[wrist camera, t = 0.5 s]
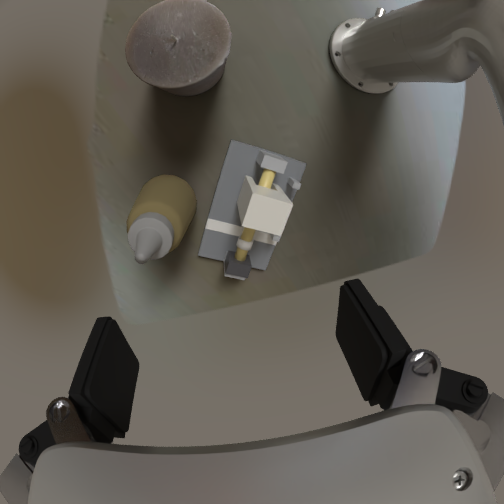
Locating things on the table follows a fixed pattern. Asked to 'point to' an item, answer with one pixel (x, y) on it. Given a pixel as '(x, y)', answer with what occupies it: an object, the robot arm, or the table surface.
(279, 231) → the white block
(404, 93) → the table surface
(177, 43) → the pillar candle
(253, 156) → the gray assembly board
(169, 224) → the squeeze bottle
